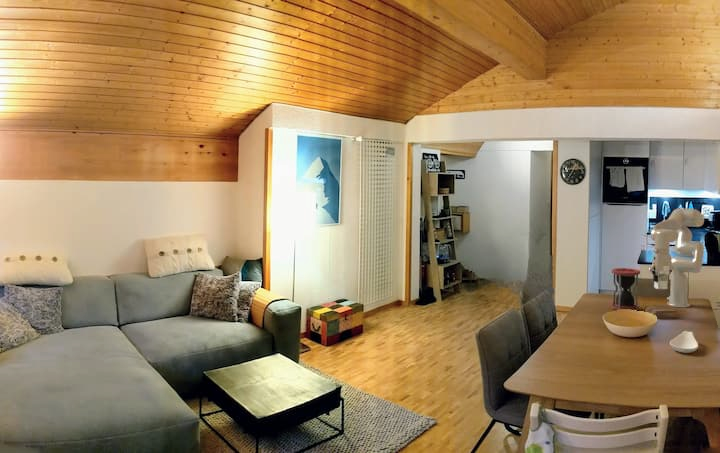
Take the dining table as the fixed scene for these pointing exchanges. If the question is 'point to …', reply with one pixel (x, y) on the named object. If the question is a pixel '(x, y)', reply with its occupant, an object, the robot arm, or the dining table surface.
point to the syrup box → (662, 278)
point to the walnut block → (661, 312)
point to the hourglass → (625, 288)
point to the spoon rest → (684, 342)
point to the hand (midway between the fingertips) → (661, 280)
